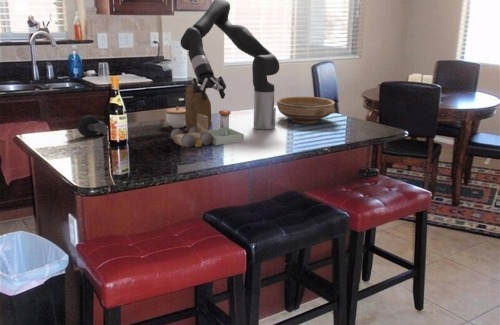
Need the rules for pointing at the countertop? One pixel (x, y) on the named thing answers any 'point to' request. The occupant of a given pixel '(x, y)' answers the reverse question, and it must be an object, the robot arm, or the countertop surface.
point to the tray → (226, 137)
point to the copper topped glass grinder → (224, 123)
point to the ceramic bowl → (305, 108)
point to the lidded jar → (176, 117)
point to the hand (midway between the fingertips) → (214, 98)
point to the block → (196, 107)
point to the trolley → (194, 134)
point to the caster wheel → (91, 126)
